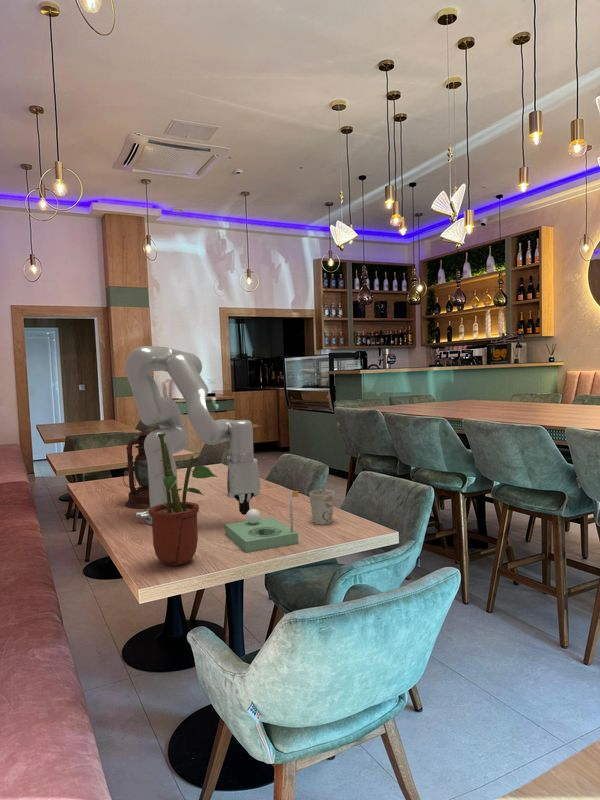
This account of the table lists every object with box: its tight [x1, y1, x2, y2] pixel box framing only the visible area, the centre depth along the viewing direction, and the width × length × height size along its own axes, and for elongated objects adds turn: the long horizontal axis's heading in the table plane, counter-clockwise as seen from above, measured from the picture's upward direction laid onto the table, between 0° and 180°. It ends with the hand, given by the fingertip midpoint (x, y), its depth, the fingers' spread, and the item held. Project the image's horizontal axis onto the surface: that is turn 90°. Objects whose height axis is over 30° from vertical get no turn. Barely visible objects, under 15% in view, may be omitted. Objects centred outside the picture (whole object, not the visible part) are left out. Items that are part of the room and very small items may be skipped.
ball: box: [245, 508, 262, 524], centre depth 172 cm, size 5×5×5 cm
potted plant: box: [149, 433, 218, 567], centre depth 150 cm, size 17×16×35 cm
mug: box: [308, 489, 336, 526], centre depth 184 cm, size 8×13×10 cm, turn 27°
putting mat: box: [224, 490, 300, 553], centre depth 167 cm, size 17×20×15 cm
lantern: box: [122, 426, 157, 510], centre depth 215 cm, size 19×19×30 cm
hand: (244, 513), depth 181 cm, fingers closed
